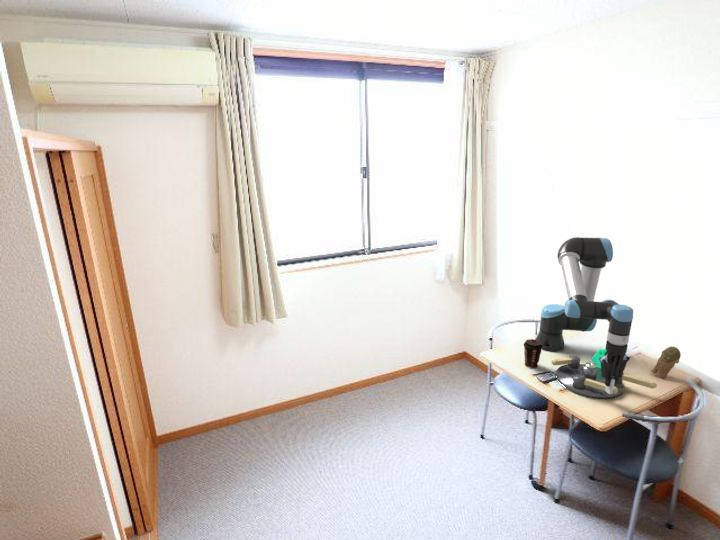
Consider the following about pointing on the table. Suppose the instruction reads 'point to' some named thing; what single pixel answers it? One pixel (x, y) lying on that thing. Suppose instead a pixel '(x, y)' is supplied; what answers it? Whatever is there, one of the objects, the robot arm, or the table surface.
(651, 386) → the knob
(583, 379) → the knob
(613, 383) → the robot arm
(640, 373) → the table surface
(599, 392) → the level base
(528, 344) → the coffee cup
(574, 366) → the maraca
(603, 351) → the camera mount
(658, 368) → the figurine
